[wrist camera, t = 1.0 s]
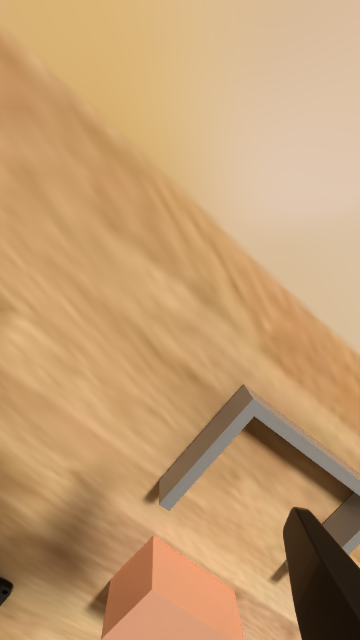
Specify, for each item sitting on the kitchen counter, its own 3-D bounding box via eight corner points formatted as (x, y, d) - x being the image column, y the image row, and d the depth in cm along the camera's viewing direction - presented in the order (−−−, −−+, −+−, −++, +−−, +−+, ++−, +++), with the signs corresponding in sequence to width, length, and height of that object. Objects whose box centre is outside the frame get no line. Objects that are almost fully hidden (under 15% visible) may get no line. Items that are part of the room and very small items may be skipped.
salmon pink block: (191, 626, 28) (196, 693, 24) (111, 576, 26) (100, 639, 22) (233, 586, 27) (246, 648, 23) (153, 533, 26) (151, 589, 21)
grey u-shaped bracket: (292, 567, 27) (305, 597, 25) (159, 480, 24) (159, 504, 22) (373, 485, 26) (396, 508, 23) (243, 384, 23) (253, 398, 21)
